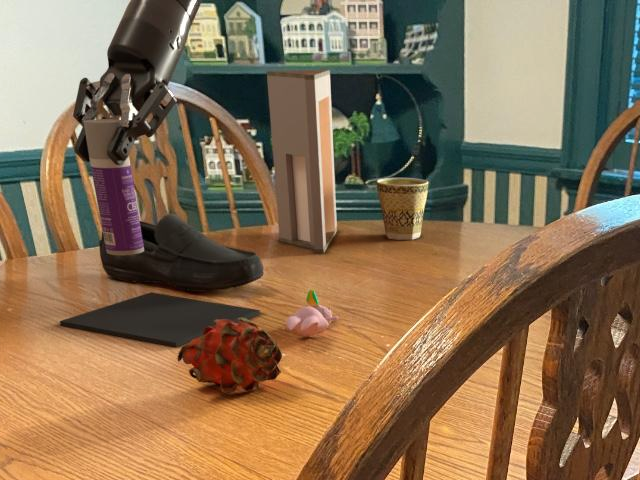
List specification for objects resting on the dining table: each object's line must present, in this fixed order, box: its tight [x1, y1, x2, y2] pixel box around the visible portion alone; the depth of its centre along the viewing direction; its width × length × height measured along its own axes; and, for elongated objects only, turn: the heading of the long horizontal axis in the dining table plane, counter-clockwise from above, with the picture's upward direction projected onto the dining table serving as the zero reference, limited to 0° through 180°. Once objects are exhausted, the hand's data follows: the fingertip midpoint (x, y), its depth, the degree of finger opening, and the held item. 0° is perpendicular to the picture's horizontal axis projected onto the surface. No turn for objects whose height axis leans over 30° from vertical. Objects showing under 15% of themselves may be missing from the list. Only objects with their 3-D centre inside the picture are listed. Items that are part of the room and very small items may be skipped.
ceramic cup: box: [375, 177, 429, 241], centre depth 177 cm, size 13×10×10 cm
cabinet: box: [266, 69, 338, 254], centre depth 165 cm, size 21×10×28 cm, turn 179°
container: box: [84, 118, 144, 255], centre depth 113 cm, size 5×5×15 cm
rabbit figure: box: [285, 288, 339, 338], centre depth 120 cm, size 6×6×15 cm
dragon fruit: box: [175, 318, 283, 395], centre depth 102 cm, size 8×8×12 cm
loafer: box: [98, 213, 265, 292], centre depth 140 cm, size 10×29×10 cm, turn 71°
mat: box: [59, 292, 261, 348], centre depth 126 cm, size 20×18×1 cm
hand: (98, 158), depth 110 cm, fingers closed on container, 4 cm apart
